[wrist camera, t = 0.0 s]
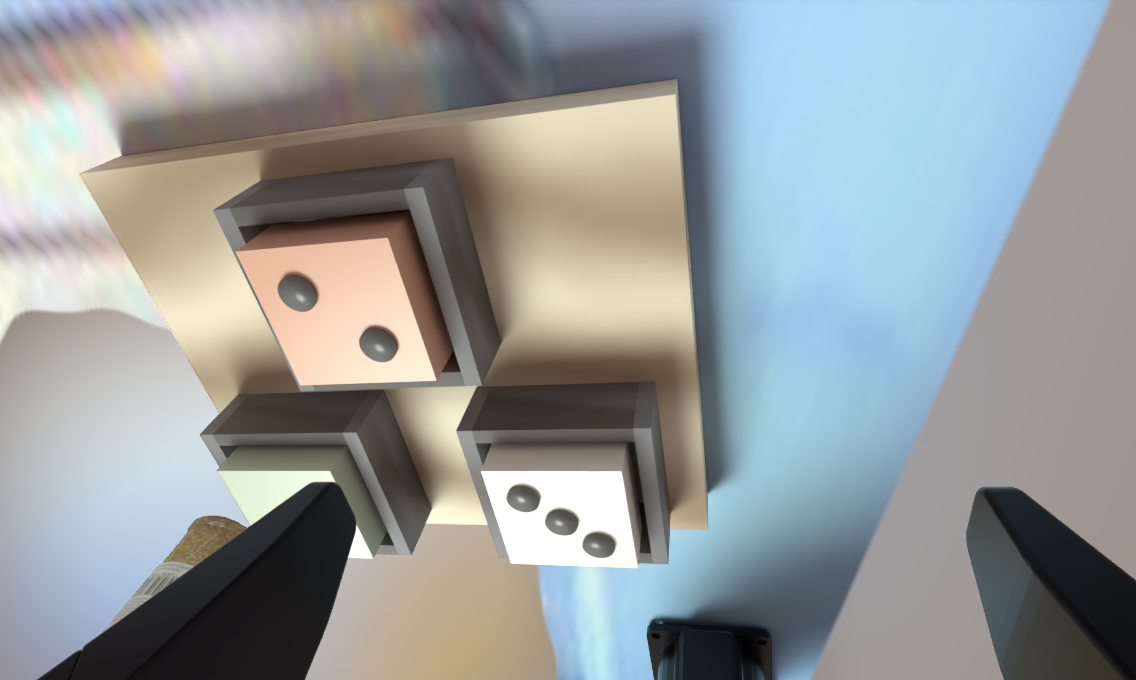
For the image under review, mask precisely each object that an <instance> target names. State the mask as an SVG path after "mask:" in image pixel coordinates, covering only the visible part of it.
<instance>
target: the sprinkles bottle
mask: <svg viewBox="0 0 1136 680" xmlns="http://www.w3.org/2000/svg"><path fill="white" fill-rule="evenodd" d="M245 529H247V528H246V527H244V526H242V525H241V524H240V523H238V522H236V521H233V520H231V519H228V518H226V517H220V516H204V517H201V518H198V519H196V520H195V521H194V522H193V523H192V524H191V526H190V527H189V528H188V532H187V534H186V535H185V536H184V537H183V539H182V540H181V541H180V542H179V544H178V545H177V546H176V547H175V548H174V550H173V551H172V552H171V554H170V555H169V556H168V557H167V558H166V559H165V561H164V562H163V563H162V564H160V565H159V566H158V567H157V568H156V569H155V570H154V571H153V573H152V574H151V575H150V576H149V577H148V578H147V580H146V581H145V582H144V583H143V585H142V586H141V587H140V588H139V589H138V590H137V592H136V593H135V594H134V595H133V597H132V598H131V599H130V600H129V601H128V603H127V604H126V605H125V606H124V608H123V609H122V610H121V611H120V612H119V614H118V615H117V616H116V617H115V618H114V620H113V621H112V622H111V623H110V625H109V626H108V627H107V628H106V629H105V630H107V629H108V628H110V627H111V626H112V625H114V624H115V623H116V622H118V621H119V620H121V619H122V618H123V617H125V616H126V615H128V614H129V613H130V612H132V611H133V610H134V609H136V608H137V607H139V606H140V605H141V604H143V603H144V602H146V601H147V600H148V599H150V598H151V597H152V596H154V595H155V594H157V593H158V592H159V591H161V590H162V589H164V588H165V587H166V586H168V585H169V584H170V583H172V582H173V581H175V580H176V579H177V578H179V577H180V576H182V575H183V574H184V573H186V572H187V571H188V570H190V569H191V568H193V567H194V566H195V565H197V564H198V563H200V562H201V561H202V560H204V559H205V558H206V557H208V556H209V555H211V554H212V553H213V552H215V551H216V550H218V549H219V548H220V547H222V546H223V545H224V544H226V543H227V542H229V541H230V540H231V539H233V538H234V537H236V536H237V535H238V534H240V533H241V532H242V531H244V530H245Z"/></svg>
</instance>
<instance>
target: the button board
mask: <svg viewBox="0 0 1136 680" xmlns="http://www.w3.org/2000/svg"><path fill="white" fill-rule="evenodd" d="M80 176H81V178H82V180H83V181H84V183H85V185H86V186H87V188H88V190H89V192H90V193H91V195H92V197H93V198H94V200H95V202H96V204H97V205H98V207H99V209H100V210H101V212H102V214H103V215H104V217H105V219H106V221H107V222H108V224H109V226H110V227H111V229H112V231H113V233H114V234H115V236H116V238H117V239H118V241H119V243H120V245H121V246H122V248H123V250H124V251H125V253H126V255H127V256H128V258H129V260H130V262H131V263H132V265H133V267H134V268H135V270H136V272H137V274H138V275H139V277H140V279H141V280H142V282H143V284H144V286H145V287H146V289H147V291H148V292H149V294H150V296H151V298H152V299H153V301H154V303H155V304H156V306H157V308H158V309H159V311H160V313H161V315H162V316H163V318H164V320H165V321H166V323H167V325H168V327H169V328H170V330H171V332H172V333H173V335H174V337H175V339H176V340H177V342H178V344H179V345H180V347H181V348H182V350H183V352H184V354H185V356H186V357H187V359H188V361H189V362H190V364H191V366H192V367H193V369H194V371H195V373H196V374H197V376H198V378H199V380H200V381H201V383H202V385H203V386H204V388H205V390H206V391H207V393H208V395H209V397H210V398H211V400H212V402H213V403H214V405H215V407H216V409H217V410H218V412H219V415H218V416H217V417H216V418H215V419H214V420H213V421H212V422H211V423H210V424H209V425H208V426H207V428H206V429H205V430H204V431H203V432H202V433H201V434H200V436H201V438H202V439H203V441H204V443H205V444H206V446H207V447H208V449H209V451H210V452H211V454H212V456H213V457H214V459H215V460H216V462H217V464H218V465H219V467H221V465H222V464H223V463H224V462H225V461H226V460H227V458H228V457H229V456H230V455H231V454H232V453H233V451H234V450H235V449H236V448H237V447H238V446H257V445H348V446H349V449H350V451H351V453H352V455H353V457H354V459H355V461H356V464H357V466H358V468H359V470H360V472H361V474H362V477H363V479H364V481H365V483H366V485H367V487H368V489H369V492H370V494H371V496H372V498H373V500H374V502H375V505H376V507H377V509H378V511H379V513H380V515H381V517H382V520H383V522H384V524H385V526H386V528H387V530H388V531H387V532H386V534H385V536H384V538H383V540H382V542H381V544H380V546H379V548H378V550H377V552H376V554H391V555H412V553H413V551H414V548H415V546H416V544H417V542H418V539H419V537H420V535H421V533H422V531H423V528H424V526H425V524H427V523H429V524H472V525H475V524H476V525H488V527H489V530H490V533H491V536H492V538H493V542H494V544H495V547H496V550H497V553H498V556H499V558H506V559H509V556H508V553H507V550H506V546H505V543H504V540H503V537H502V534H501V531H500V528H499V525H498V522H497V519H496V516H495V513H494V510H493V507H492V504H491V501H490V498H489V495H488V491H487V488H486V485H485V482H484V479H483V476H482V473H481V470H482V467H483V464H484V462H485V459H486V457H487V454H488V452H489V449H490V447H491V444H492V443H571V442H629V445H630V452H631V458H632V465H633V471H634V478H635V484H636V491H637V497H638V504H639V510H640V517H641V523H642V531H641V541H640V552H639V562H638V563H652V564H668V557H669V537H670V529H702V530H708V494H707V480H706V467H705V453H704V439H703V425H702V411H701V397H700V383H699V370H698V356H697V342H696V328H695V314H694V300H693V286H692V273H691V259H690V245H689V231H688V217H687V203H686V189H685V176H684V162H683V148H682V134H681V120H680V106H679V92H678V79H672V80H665V81H658V82H650V83H643V84H636V85H629V86H622V87H615V88H607V89H600V90H593V91H586V92H579V93H571V94H564V95H557V96H550V97H543V98H535V99H528V100H521V101H514V102H507V103H500V104H492V105H485V106H478V107H471V108H464V109H456V110H449V111H442V112H435V113H428V114H420V115H413V116H406V117H399V118H392V119H385V120H377V121H370V122H363V123H356V124H349V125H341V126H334V127H327V128H320V129H313V130H305V131H298V132H291V133H284V134H277V135H270V136H262V137H255V138H248V139H241V140H234V141H226V142H219V143H212V144H205V145H198V146H190V147H183V148H176V149H169V150H162V151H155V152H147V153H140V154H133V155H126V156H120V157H118V158H115V159H113V160H111V161H108V162H106V163H104V164H101V165H99V166H97V167H94V168H92V169H90V170H87V171H85V172H83V173H80ZM400 211H411V215H412V218H413V221H414V224H415V227H416V231H417V234H418V237H419V240H420V243H421V246H422V250H423V253H424V256H425V259H426V262H427V266H428V269H429V272H430V275H431V278H432V281H433V285H434V288H435V291H436V294H437V297H438V301H439V304H440V307H441V310H442V313H443V316H444V320H445V323H446V326H447V329H448V332H449V336H450V339H451V342H452V345H453V348H454V350H453V352H452V354H451V356H450V358H449V359H448V361H447V363H446V365H445V367H444V368H443V370H442V372H441V374H440V376H439V377H438V379H437V381H415V382H385V383H356V384H327V385H300V384H299V382H298V380H297V378H296V376H295V374H294V372H293V369H292V367H291V365H290V363H289V361H288V359H287V357H286V355H285V353H284V351H283V349H282V347H281V345H280V343H279V341H278V339H277V336H276V334H275V332H274V330H273V328H272V326H271V324H270V322H269V320H268V318H267V316H266V314H265V312H264V310H263V308H262V306H261V303H260V301H259V299H258V297H257V295H256V293H255V291H254V289H253V287H252V285H251V283H250V281H249V279H248V277H247V275H246V273H245V270H244V268H243V266H242V264H241V262H240V260H239V258H238V256H237V254H236V251H237V250H238V249H240V248H241V247H242V246H244V245H245V244H247V243H248V242H249V241H251V240H252V239H253V238H255V237H256V236H257V235H259V234H260V233H261V232H263V231H264V230H265V229H267V228H268V227H269V226H271V225H273V224H282V223H292V222H302V221H312V220H322V219H332V218H341V217H351V216H361V215H371V214H381V213H391V212H400Z"/></svg>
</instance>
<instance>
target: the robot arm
mask: <svg viewBox="0 0 1136 680" xmlns="http://www.w3.org/2000/svg"><path fill="white" fill-rule="evenodd" d="M355 533H356V517H355V514H354V512H353V510H352V508H351V506H350V504H349V502H348V500H347V498H346V496H345V494H344V492H343V490H342V488H341V487H340V485H339V484H337V483H336V482H312V483H309V484H308V485H306V486H305V487H303V488H302V489H301V490H299V491H298V492H296V493H295V494H294V495H292V496H291V497H289V498H288V499H287V500H285V501H284V502H283V503H281V504H280V505H278V506H277V507H276V508H274V509H273V510H271V511H270V512H269V513H267V514H266V515H265V516H263V517H262V518H260V519H259V520H258V521H256V522H255V523H254V524H252V525H251V526H249V527H248V528H247V529H245V530H244V531H242V532H241V533H240V534H238V535H237V536H236V537H234V538H233V539H231V540H230V541H229V542H227V543H226V544H224V545H223V546H222V547H220V548H219V549H218V550H216V551H215V552H213V553H212V554H211V555H209V556H208V557H206V558H205V559H204V560H202V561H201V562H200V563H198V564H197V565H195V566H194V567H193V568H191V569H190V570H188V571H187V572H186V573H184V574H183V575H182V576H180V577H179V578H177V579H176V580H175V581H173V582H172V583H170V584H169V585H168V586H166V587H165V588H164V589H162V590H161V591H159V592H158V593H157V594H155V595H154V596H152V597H151V598H150V599H148V600H147V601H146V602H144V603H143V604H141V605H140V606H139V607H137V608H136V609H134V610H133V611H132V612H130V613H129V614H128V615H126V616H125V617H123V618H122V619H121V620H119V621H118V622H116V623H115V624H114V625H112V626H111V627H110V628H108V629H107V630H105V631H104V632H103V633H101V634H100V635H98V636H97V637H96V638H94V639H93V640H92V641H91V642H89V643H87V644H86V645H85V646H84V647H83V649H82V650H78V651H76V652H75V653H73V654H72V655H71V656H69V657H68V658H67V659H65V660H64V661H62V662H61V663H60V664H58V665H57V666H56V667H54V668H53V669H51V670H50V671H49V672H47V673H46V674H44V675H43V676H42V677H40V678H39V679H37V680H305V678H306V675H307V673H308V670H309V668H310V666H311V663H312V661H313V658H314V656H315V654H316V651H317V649H318V646H319V644H320V641H321V639H322V637H323V634H324V631H325V629H326V626H327V623H328V620H329V618H330V615H331V612H332V609H333V606H334V602H335V599H336V596H337V592H338V589H339V586H340V582H341V579H342V576H343V572H344V569H345V566H346V563H347V559H348V556H349V553H350V550H351V546H352V543H353V540H354V536H355ZM966 539H967V548H968V552H969V556H970V559H971V563H972V567H973V571H974V574H975V578H976V582H977V586H978V589H979V593H980V597H981V600H982V604H983V608H984V612H985V616H986V619H987V623H988V627H989V631H990V634H991V638H992V642H993V646H994V649H995V653H996V656H997V660H998V663H999V666H1000V669H1001V672H1002V675H1003V678H1004V680H1136V580H1135V579H1134V578H1132V577H1131V576H1130V575H1128V574H1127V573H1126V572H1125V571H1123V570H1122V569H1121V568H1120V567H1118V566H1117V565H1116V564H1115V563H1113V562H1112V561H1111V560H1109V559H1108V558H1107V557H1105V556H1104V555H1103V554H1102V553H1100V552H1099V551H1098V550H1097V549H1095V548H1094V547H1093V546H1091V545H1090V544H1089V543H1088V542H1086V541H1085V540H1084V539H1083V538H1081V537H1080V536H1079V535H1077V534H1076V533H1075V532H1074V531H1072V530H1071V529H1070V528H1069V527H1067V526H1066V525H1065V524H1063V523H1062V522H1061V521H1060V520H1058V519H1057V518H1056V517H1055V516H1053V515H1052V514H1051V513H1049V512H1048V511H1047V510H1046V509H1044V508H1043V507H1042V506H1041V505H1039V504H1038V503H1037V502H1035V501H1034V500H1033V499H1032V498H1030V497H1029V496H1028V495H1027V494H1025V493H1024V492H1022V491H1021V490H1019V489H1017V488H1013V487H982V488H980V489H979V490H978V491H977V492H976V495H975V498H974V503H973V507H972V511H971V515H970V519H969V523H968V527H967V533H966ZM647 640H648V646H649V652H650V657H651V663H652V669H653V675H654V680H772V641H771V634H770V633H769V632H768V631H765V630H759V629H742V628H724V627H706V626H688V625H670V624H650V625H649V626H648V627H647Z"/></svg>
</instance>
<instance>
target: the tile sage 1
mask: <svg viewBox="0 0 1136 680" xmlns="http://www.w3.org/2000/svg"><path fill="white" fill-rule="evenodd" d="M217 472H218V474H219V475H220V477H221V479H222V480H223V482H224V483H225V485H226V487H227V488H228V490H229V491H230V493H231V495H232V496H233V498H234V499H235V501H236V502H237V504H238V506H239V507H240V509H241V510H242V512H243V514H244V515H245V517H246V518H247V520H248V522H249V523H250V525H252V524H254V523H255V522H256V521H258V520H259V519H260V518H262V517H263V516H265V515H266V514H267V513H269V512H270V511H271V510H273V509H274V508H276V507H277V506H278V505H280V504H281V503H283V502H284V501H285V500H287V499H288V498H289V497H291V496H292V495H294V494H295V493H296V492H298V491H299V490H301V489H302V488H303V487H305V486H306V485H308V484H309V483H312V482H336V483H337V484H339V485H340V487H341V488H342V490H343V492H344V494H345V496H346V498H347V500H348V502H349V504H350V506H351V508H352V510H353V512H354V514H355V517H356V533H355V536H354V540H353V543H352V546H351V550H350V553H349V556H348V558H372V559H373V558H374V556H375V554H376V552H377V550H378V548H379V546H380V544H381V542H382V540H383V538H384V536H385V534H386V532H387V531H388V530H387V528H386V526H385V524H384V522H383V520H382V517H381V515H380V513H379V511H378V509H377V507H376V505H375V502H374V500H373V498H372V496H371V494H370V492H369V489H368V487H367V485H366V483H365V481H364V479H363V477H362V474H361V472H360V470H359V468H358V466H357V464H356V461H355V459H354V457H353V455H352V453H351V451H350V449H349V446H348V445H257V446H238V447H237V448H236V449H235V450H234V451H233V453H232V454H231V455H230V456H229V457H228V458H227V460H226V461H225V462H224V463H223V464H222V465H221V467H220V468H219V469H218V470H217Z"/></svg>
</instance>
